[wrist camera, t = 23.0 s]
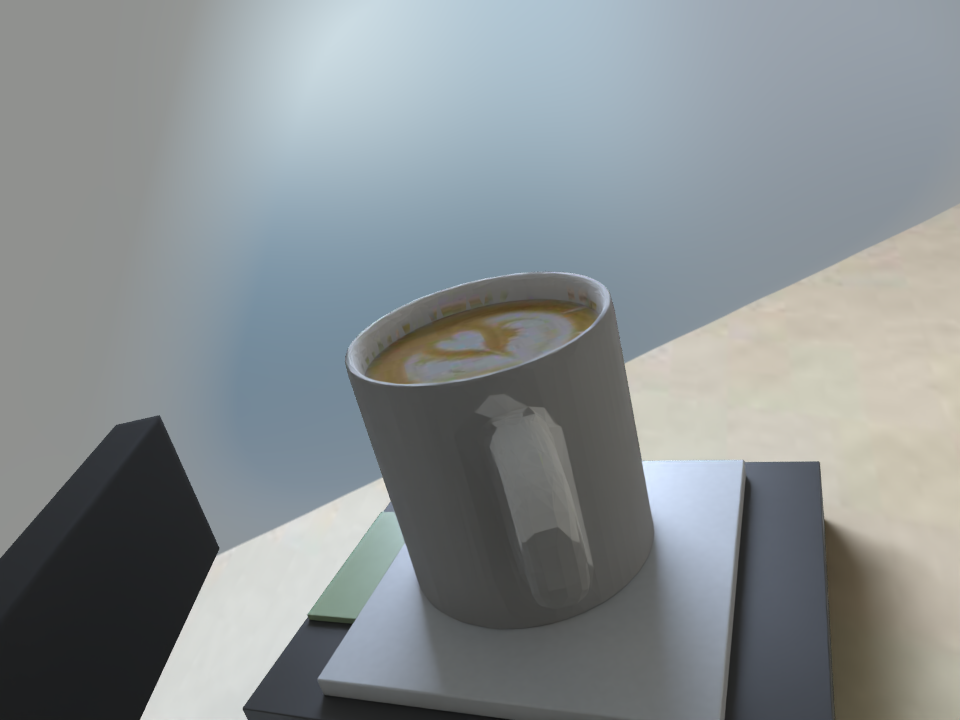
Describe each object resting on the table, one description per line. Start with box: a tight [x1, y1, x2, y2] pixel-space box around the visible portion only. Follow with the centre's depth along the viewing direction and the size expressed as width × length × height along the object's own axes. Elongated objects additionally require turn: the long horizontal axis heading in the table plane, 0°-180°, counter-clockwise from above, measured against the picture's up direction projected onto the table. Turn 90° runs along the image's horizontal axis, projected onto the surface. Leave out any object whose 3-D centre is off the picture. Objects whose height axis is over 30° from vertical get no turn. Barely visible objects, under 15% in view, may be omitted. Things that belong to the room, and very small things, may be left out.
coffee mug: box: [345, 272, 654, 629], centre depth 29 cm, size 13×10×10 cm
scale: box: [243, 460, 835, 720], centre depth 32 cm, size 20×16×4 cm
